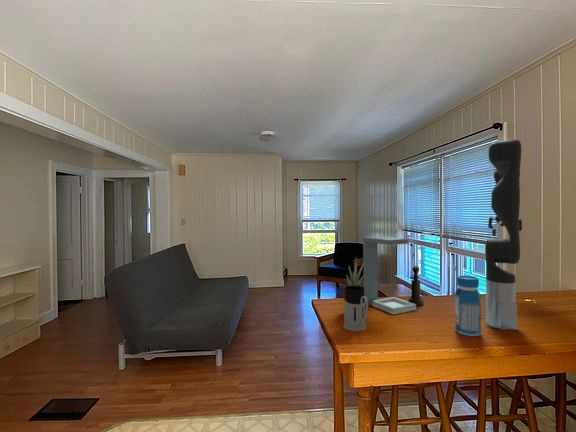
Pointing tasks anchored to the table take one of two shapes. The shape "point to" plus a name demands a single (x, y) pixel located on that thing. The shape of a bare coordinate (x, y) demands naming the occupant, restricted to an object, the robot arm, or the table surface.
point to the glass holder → (355, 308)
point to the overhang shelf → (371, 276)
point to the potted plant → (355, 278)
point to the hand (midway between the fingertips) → (504, 236)
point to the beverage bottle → (468, 306)
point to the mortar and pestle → (416, 288)
